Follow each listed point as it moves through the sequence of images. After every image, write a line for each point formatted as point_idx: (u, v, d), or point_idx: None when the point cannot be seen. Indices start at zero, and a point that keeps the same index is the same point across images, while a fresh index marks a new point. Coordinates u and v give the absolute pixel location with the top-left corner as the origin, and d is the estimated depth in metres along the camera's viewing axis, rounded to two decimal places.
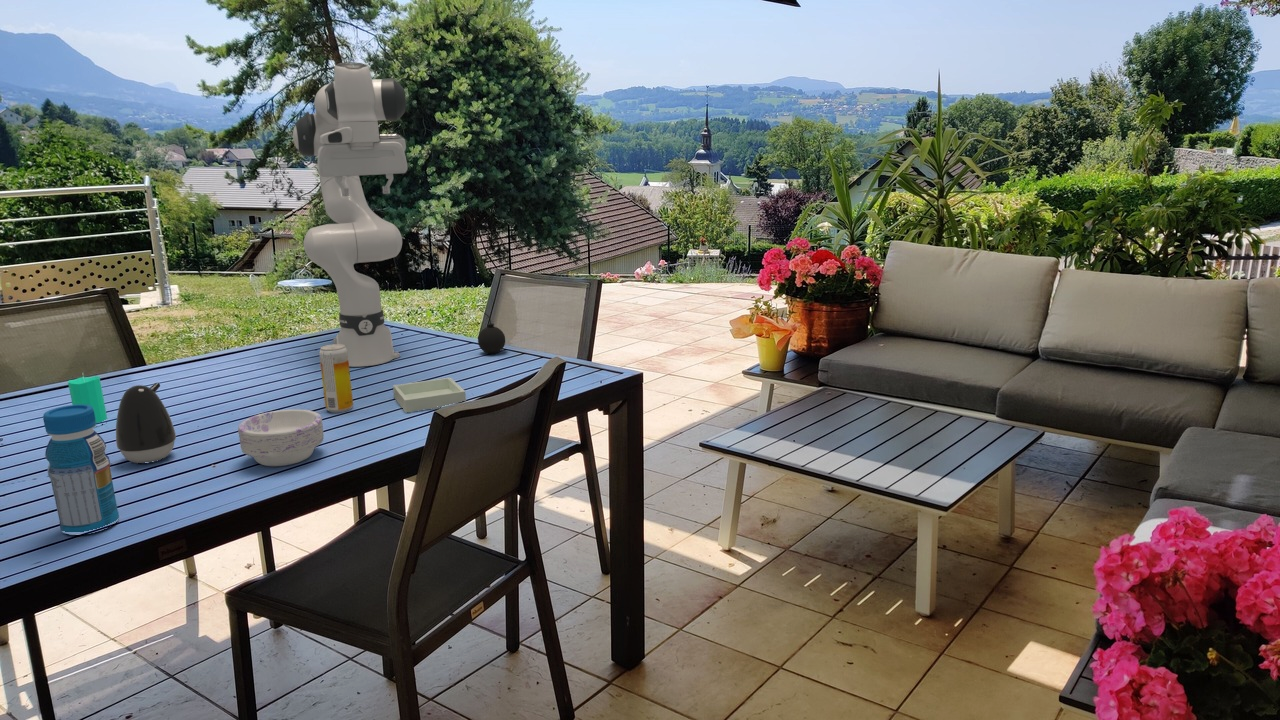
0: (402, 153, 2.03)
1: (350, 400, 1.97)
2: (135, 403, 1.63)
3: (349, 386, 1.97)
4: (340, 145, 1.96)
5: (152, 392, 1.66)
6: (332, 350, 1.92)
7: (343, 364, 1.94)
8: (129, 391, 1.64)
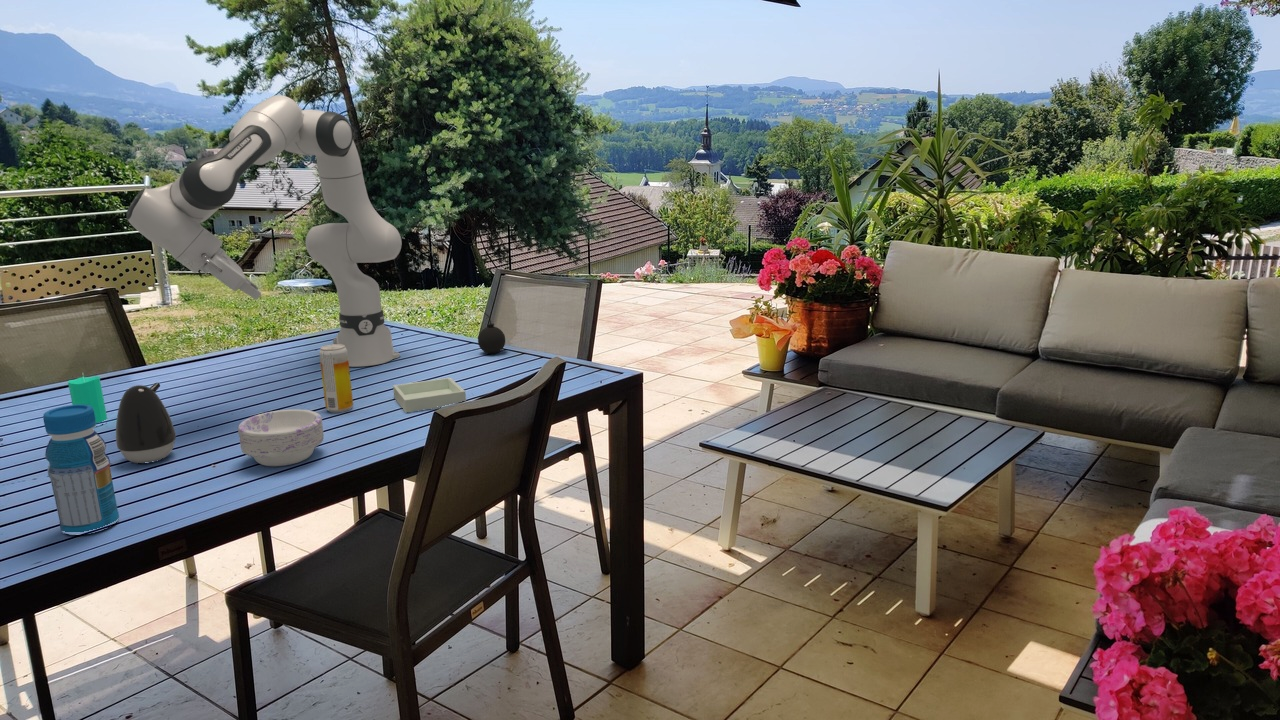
0: (216, 277, 1.76)
1: (350, 400, 1.97)
2: (135, 403, 1.63)
3: (349, 386, 1.97)
4: None
5: (152, 392, 1.66)
6: (332, 350, 1.92)
7: (343, 364, 1.94)
8: (129, 391, 1.64)
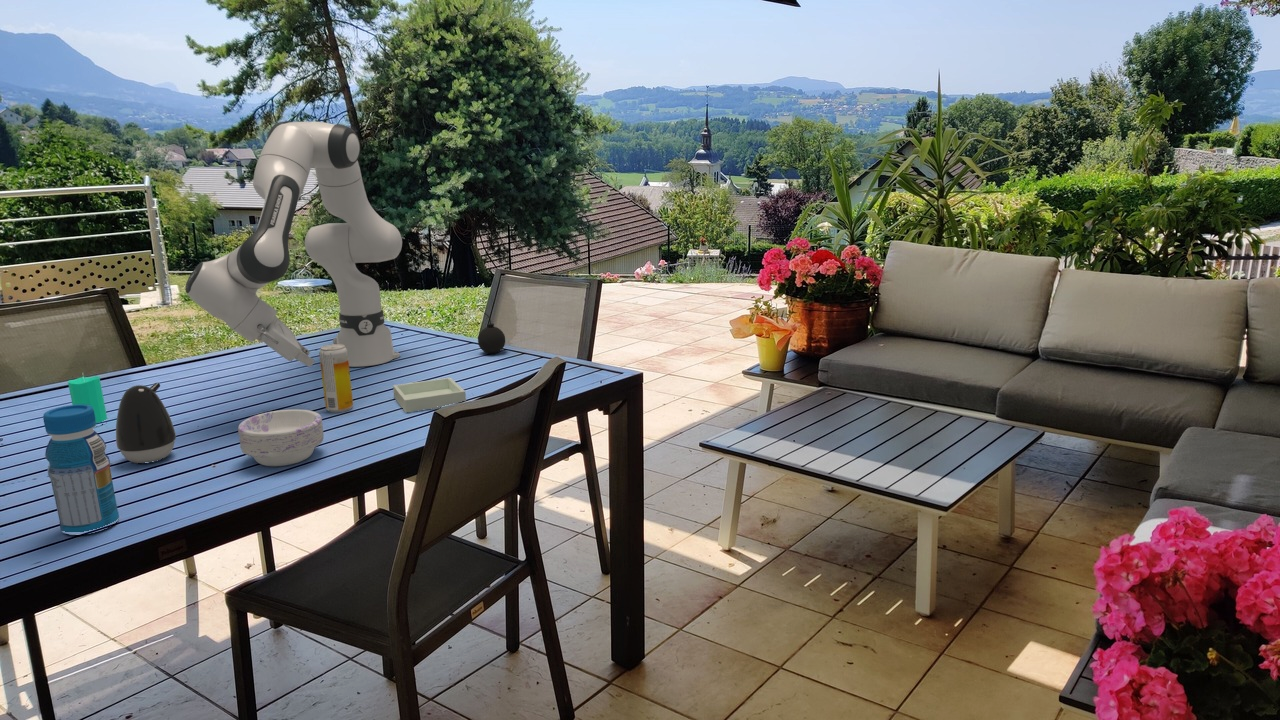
0: None
1: (350, 400, 1.97)
2: (135, 403, 1.63)
3: (349, 386, 1.97)
4: None
5: (152, 392, 1.66)
6: (332, 350, 1.92)
7: (343, 364, 1.94)
8: (129, 391, 1.64)
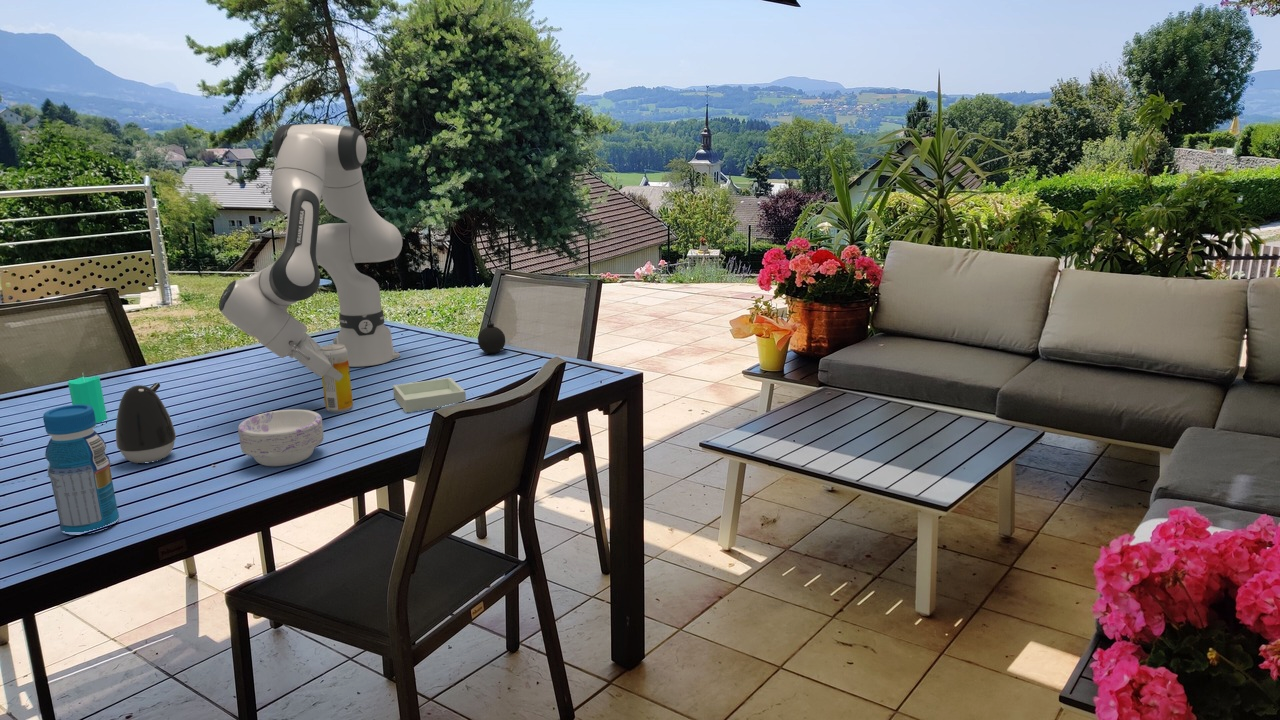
0: None
1: (350, 400, 1.97)
2: (135, 403, 1.63)
3: (349, 386, 1.97)
4: None
5: (152, 392, 1.66)
6: (332, 350, 1.92)
7: (343, 364, 1.94)
8: (129, 391, 1.64)
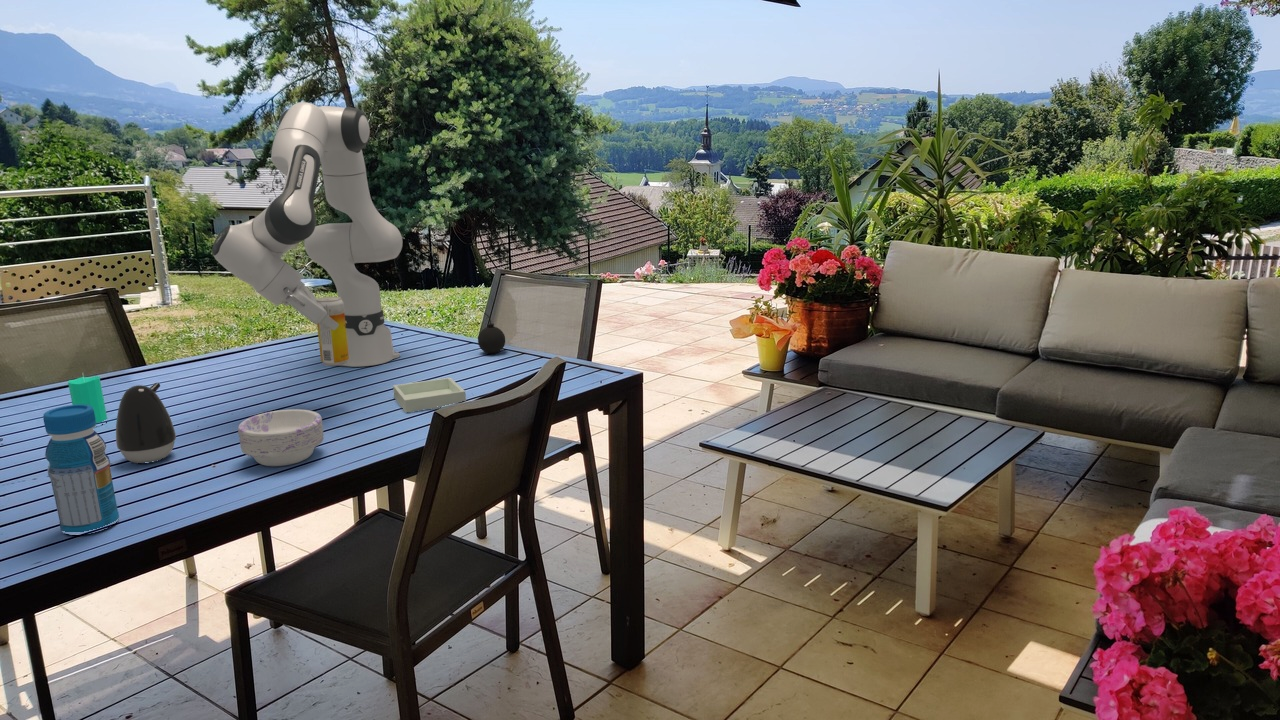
0: (298, 311, 1.81)
1: (346, 353, 1.95)
2: (135, 403, 1.63)
3: (345, 339, 1.94)
4: None
5: (152, 392, 1.66)
6: (328, 301, 1.90)
7: (339, 316, 1.92)
8: (129, 391, 1.64)
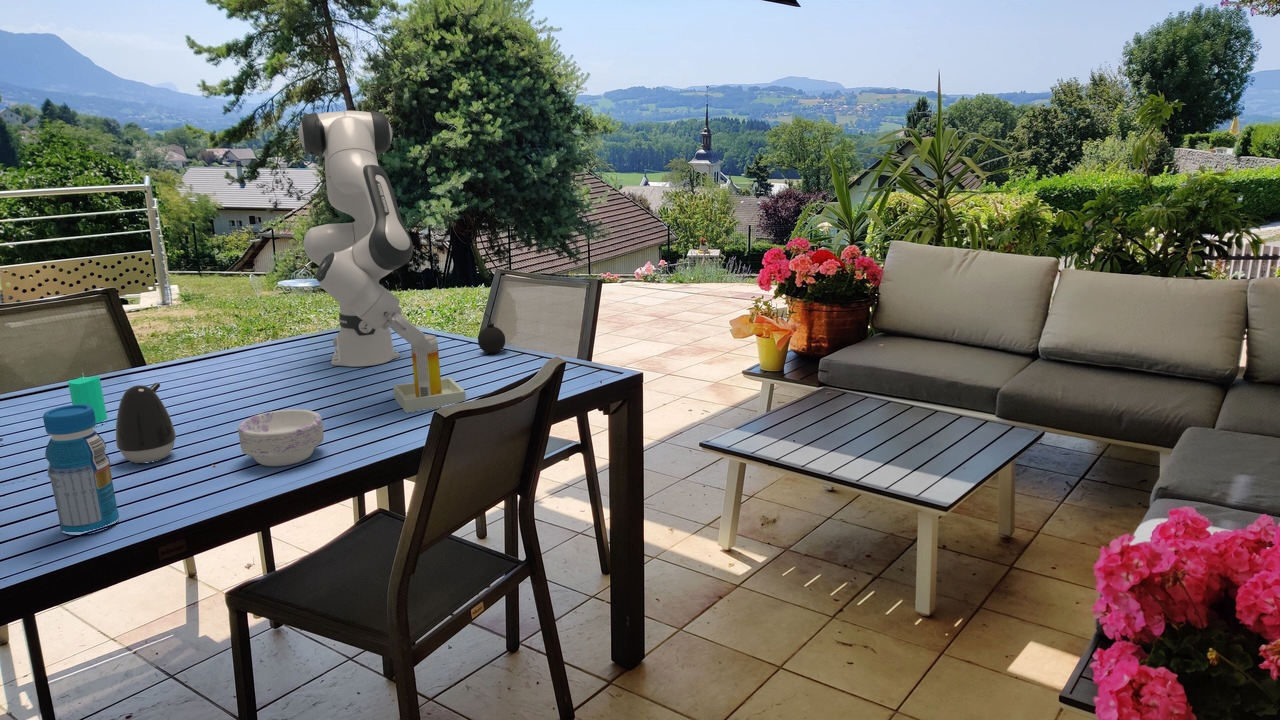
0: None
1: (440, 389, 2.03)
2: (135, 403, 1.63)
3: (439, 375, 2.02)
4: None
5: (152, 392, 1.66)
6: None
7: (436, 353, 1.99)
8: (129, 391, 1.64)
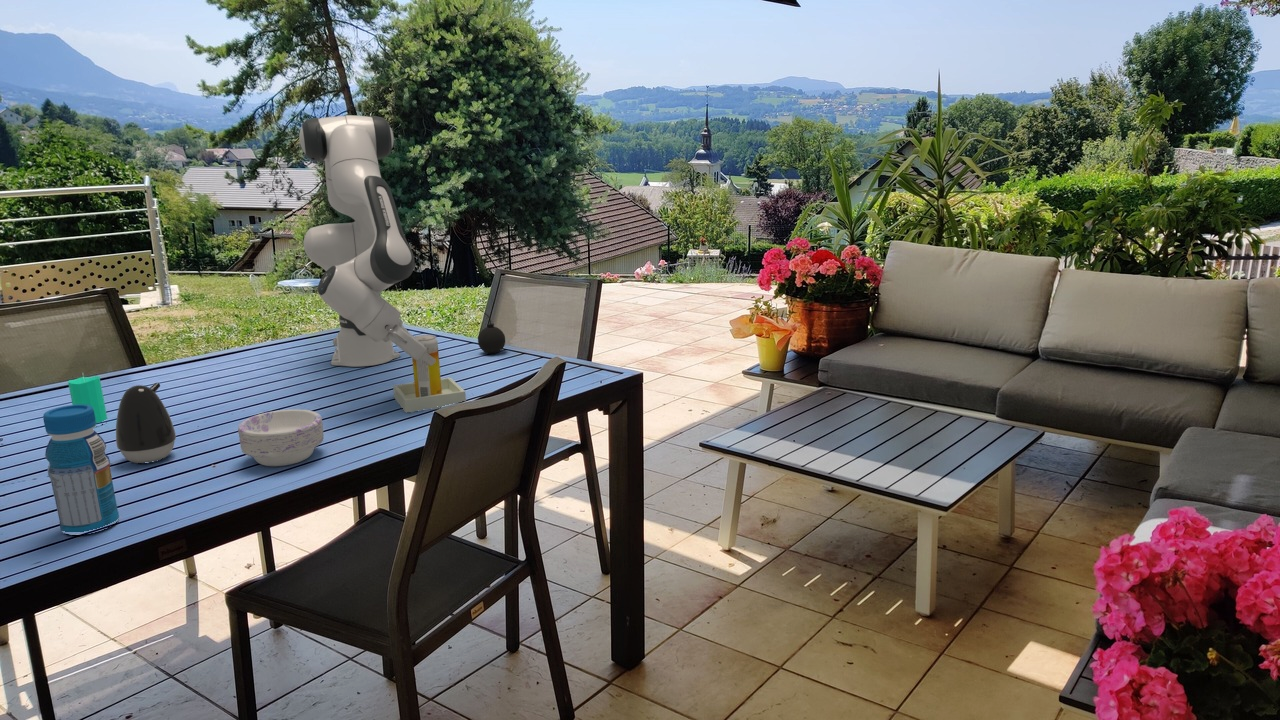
0: (400, 348, 1.89)
1: (440, 389, 2.03)
2: (135, 403, 1.63)
3: (439, 375, 2.02)
4: None
5: (152, 392, 1.66)
6: (426, 340, 1.97)
7: (436, 353, 1.99)
8: (129, 391, 1.64)
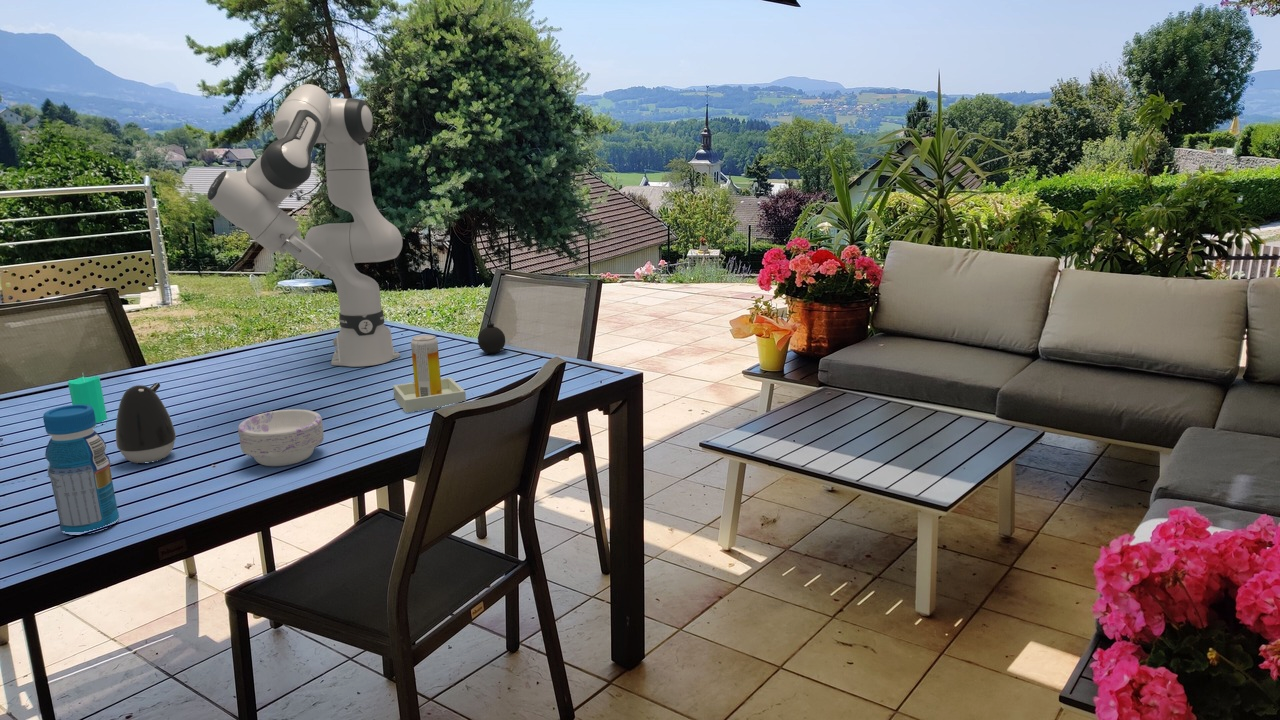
0: (295, 257, 1.81)
1: (440, 389, 2.03)
2: (135, 403, 1.63)
3: (439, 375, 2.02)
4: None
5: (152, 392, 1.66)
6: (426, 340, 1.97)
7: (436, 353, 1.99)
8: (129, 391, 1.64)
